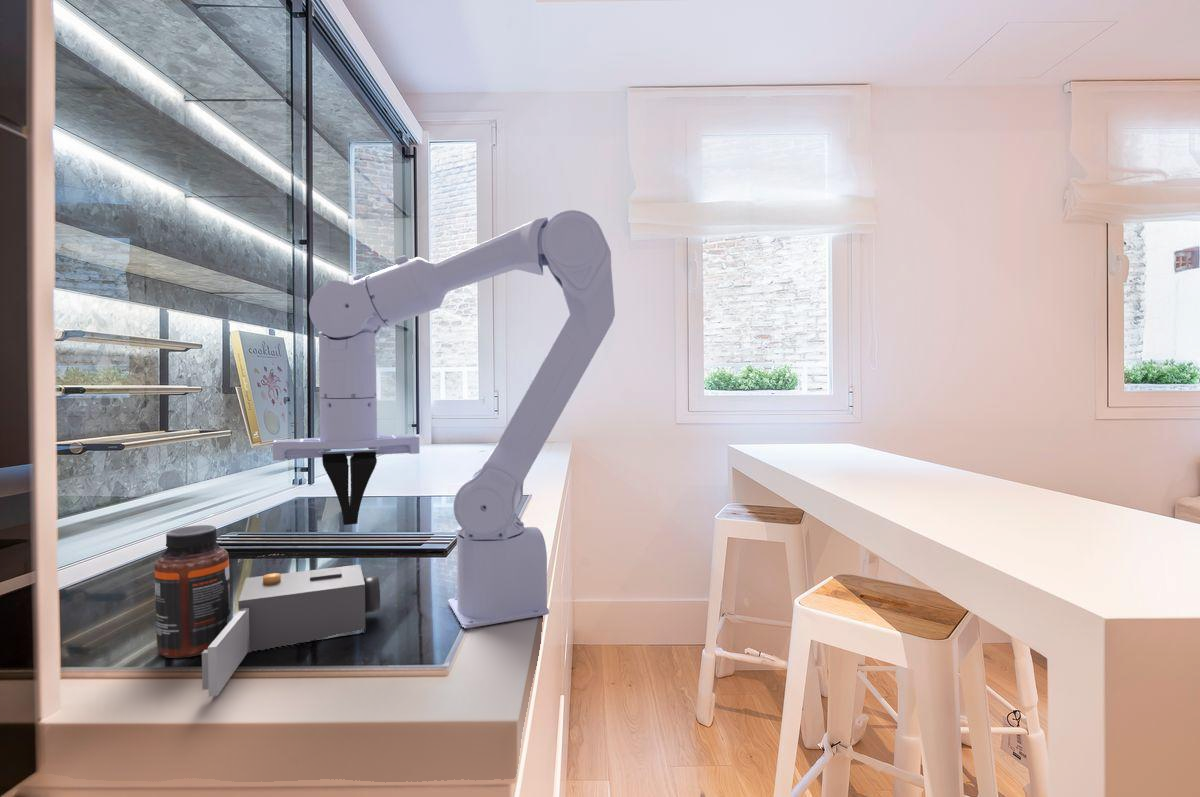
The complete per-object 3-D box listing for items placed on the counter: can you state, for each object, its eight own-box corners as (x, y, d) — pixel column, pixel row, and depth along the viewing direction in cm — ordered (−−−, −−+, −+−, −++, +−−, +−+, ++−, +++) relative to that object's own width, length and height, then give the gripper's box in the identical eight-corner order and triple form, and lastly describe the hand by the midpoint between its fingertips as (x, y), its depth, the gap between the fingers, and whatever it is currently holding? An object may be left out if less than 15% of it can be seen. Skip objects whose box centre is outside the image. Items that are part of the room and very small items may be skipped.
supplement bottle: (245, 635, 61) (243, 522, 61) (201, 663, 56) (198, 539, 55) (189, 632, 62) (187, 521, 62) (140, 659, 56) (136, 536, 56)
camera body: (376, 606, 69) (376, 557, 69) (383, 630, 63) (382, 576, 62) (246, 625, 64) (245, 572, 63) (239, 653, 57) (238, 594, 57)
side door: (218, 695, 49) (217, 646, 49) (201, 697, 49) (200, 648, 49) (250, 649, 57) (250, 607, 57) (236, 650, 57) (235, 608, 57)
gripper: (412, 395, 73) (413, 508, 74) (274, 397, 67) (276, 520, 68) (422, 398, 67) (423, 522, 67) (270, 399, 61) (273, 536, 61)
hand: (350, 522), depth 67 cm, fingers closed
